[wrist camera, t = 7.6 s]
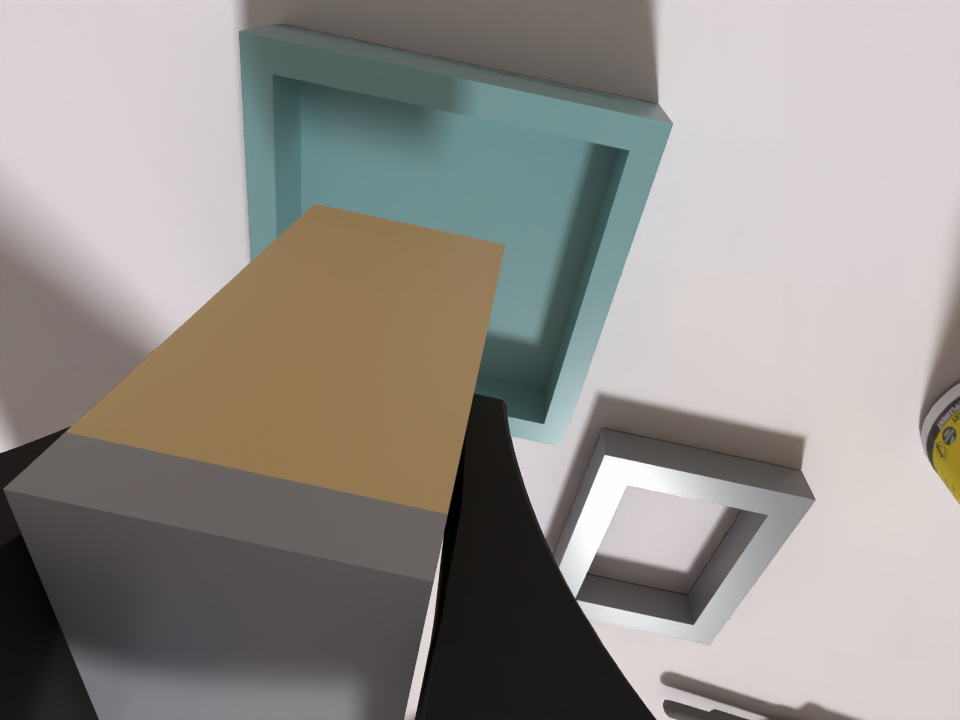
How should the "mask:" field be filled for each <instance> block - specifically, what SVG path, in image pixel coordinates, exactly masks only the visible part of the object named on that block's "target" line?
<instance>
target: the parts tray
mask: <svg viewBox="0 0 960 720" xmlns="http://www.w3.org/2000/svg"><path fill="white" fill-rule="evenodd" d="M239 41H240V60H241V79H242V98H243V118H244V137H245V156H246V175H247V194H248V213H249V233H250V252H251V262H252V261H253V260H254V259H255V258H256V257H257V256H258V255H259V254H260V253H261V252H263V251H264V250H265V249H266V248H267V247H268V246H269V245H270V244H271V243H272V242H273V241H275V240H276V239H277V238H278V237H279V236H280V235H281V234H282V233H283V232H284V231H285V230H287V229H288V228H289V227H290V226H291V225H292V224H293V223H294V222H295V221H296V220H297V219H299V218H300V217H301V216H302V215H303V214H304V213H305V212H306V211H307V210H308V209H309V208H311V207H312V206H313V205H314V204H318V205H323V206H328V207H332V208H337V209H342V210H346V211H351V212H356V213H360V214H365V215H370V216H374V217H379V218H384V219H388V220H393V221H398V222H402V223H407V224H412V225H416V226H421V227H426V228H431V229H435V230H440V231H445V232H449V233H454V234H459V235H463V236H468V237H473V238H477V239H482V240H487V241H491V242H496V243H501V244H505V250H504V255H503V260H502V264H501V269H500V274H499V278H498V283H497V288H496V292H495V297H494V302H493V306H492V311H491V316H490V320H489V325H488V330H487V334H486V339H485V344H484V348H483V353H482V358H481V362H480V367H479V372H478V376H477V381H476V386H475V390H474V394H479V395H483V396H488V397H493V398H497V399H502V400H503V401H504V402H505V404H506V405H507V415H508V423H509V429H510V434H511V436H513V437H518V438H522V439H527V440H532V441H536V442H541V443H546V444H550V445H555V446H560V447H562V444H563V442H564V439H565V436H566V433H567V430H568V427H569V424H570V421H571V418H572V415H573V413H574V410H575V407H576V404H577V401H578V398H579V395H580V392H581V389H582V386H583V384H584V381H585V378H586V375H587V372H588V369H589V366H590V363H591V360H592V357H593V355H594V352H595V349H596V346H597V343H598V340H599V337H600V334H601V331H602V328H603V326H604V323H605V320H606V317H607V314H608V311H609V308H610V305H611V302H612V299H613V297H614V294H615V291H616V288H617V285H618V282H619V279H620V276H621V273H622V270H623V268H624V265H625V262H626V259H627V256H628V253H629V250H630V247H631V244H632V241H633V239H634V236H635V233H636V230H637V227H638V224H639V221H640V218H641V215H642V212H643V210H644V207H645V204H646V201H647V198H648V195H649V192H650V189H651V186H652V183H653V181H654V178H655V175H656V172H657V169H658V166H659V163H660V160H661V157H662V154H663V152H664V149H665V146H666V143H667V140H668V137H669V134H670V131H671V128H672V125H673V123H672V121H671V120H670V119H669V117H668V116H667V115H666V113H665V112H664V111H663V109H662V108H661V107H660V105H659V104H654V103H650V102H645V101H640V100H636V99H631V98H626V97H622V96H617V95H612V94H607V93H603V92H598V91H593V90H589V89H584V88H579V87H575V86H570V85H565V84H561V83H556V82H551V81H546V80H542V79H537V78H532V77H528V76H523V75H518V74H514V73H509V72H504V71H500V70H495V69H490V68H485V67H481V66H476V65H471V64H467V63H462V62H457V61H453V60H448V59H443V58H439V57H434V56H429V55H424V54H420V53H415V52H410V51H406V50H401V49H396V48H392V47H387V46H382V45H378V44H373V43H368V42H363V41H359V40H354V39H349V38H345V37H340V36H335V35H331V34H326V33H321V32H317V31H312V30H307V29H302V28H298V27H293V26H288V25H284V24H278V25H272V26H266V27H260V28H254V29H248V30H242V31H239Z"/></svg>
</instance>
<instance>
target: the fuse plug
mask: <svg viewBox="0 0 960 720" xmlns="http://www.w3.org/2000/svg"><path fill="white" fill-rule="evenodd" d="M504 250H505V244H501V243H496V242H491V241H487V240H482V239H477V238H473V237H468V236H463V235H459V234H454V233H449V232H445V231H440V230H435V229H431V228H426V227H421V226H416V225H412V224H407V223H402V222H398V221H393V220H388V219H384V218H379V217H374V216H370V215H365V214H360V213H356V212H351V211H346V210H342V209H337V208H332V207H328V206H323V205H318V204H314V205H313V206H312V207H311V208H309V209H308V210H307V211H306V212H305V213H304V214H303V215H302V216H301V217H300V218H299V219H297V220H296V221H295V222H294V223H293V224H292V225H291V226H290V227H289V228H288V229H287V230H285V231H284V232H283V233H282V234H281V235H280V236H279V237H278V238H277V239H276V240H275V241H273V242H272V243H271V244H270V245H269V246H268V247H267V248H266V249H265V250H264V251H263V252H261V253H260V254H259V255H258V256H257V257H256V258H255V259H254V260H253V261H252V262H251V263H249V264H248V265H247V266H246V267H245V268H244V269H243V270H242V271H241V272H240V273H239V274H237V275H236V276H235V277H234V278H233V279H232V280H231V281H230V282H229V283H228V284H227V285H225V286H224V287H223V288H222V289H221V290H220V291H219V292H218V293H217V294H216V295H214V296H213V297H212V298H211V299H210V300H209V301H208V302H207V303H206V304H205V305H204V306H202V307H201V308H200V309H199V310H198V311H197V312H196V313H195V314H194V315H193V316H192V317H190V318H189V319H188V320H187V321H186V322H185V323H184V324H183V325H182V326H181V327H180V328H178V329H177V330H176V331H175V332H174V333H173V334H172V335H171V336H170V337H169V338H168V339H166V340H165V341H164V342H163V343H162V344H161V345H160V346H159V347H158V348H157V349H156V350H154V351H153V352H152V353H151V354H150V355H149V356H148V357H147V358H146V359H145V360H144V361H142V362H141V363H140V364H139V365H138V366H137V367H136V368H135V369H134V370H133V371H132V372H130V373H129V374H128V375H127V376H126V377H125V378H124V379H123V380H122V381H121V382H120V383H118V384H117V385H116V386H115V387H114V388H113V389H112V390H111V391H110V392H109V393H108V394H106V395H105V396H104V397H103V398H102V399H101V400H100V401H99V402H98V403H97V404H96V405H94V406H93V407H92V408H91V409H90V410H89V411H88V412H87V413H86V414H85V415H84V416H82V417H81V418H80V419H79V420H78V421H77V422H76V423H75V424H74V425H73V426H72V427H70V428H69V429H68V430H67V431H66V432H65V433H64V434H63V435H62V436H61V437H60V438H58V439H57V440H56V441H55V442H54V443H53V444H52V445H51V446H50V447H49V448H48V449H46V450H45V451H44V452H43V453H42V454H41V455H40V456H39V457H38V458H37V459H36V460H34V461H33V462H32V463H31V464H30V465H29V466H28V467H27V468H26V469H25V470H24V471H22V472H21V473H20V474H19V475H18V476H17V477H16V478H15V479H14V480H13V481H12V482H10V483H9V484H8V485H7V486H6V487H5V488H4V489H3V490H4V493H5V495H6V497H7V500H8V502H9V505H10V507H11V509H12V512H13V514H14V517H15V519H16V521H17V524H18V526H19V529H20V531H21V533H22V536H23V538H24V541H25V543H26V545H27V548H28V550H29V553H30V555H31V557H32V560H33V562H34V565H35V567H36V570H37V572H38V574H39V577H40V579H41V582H42V584H43V586H44V589H45V591H46V594H47V596H48V598H49V601H50V603H51V606H52V608H53V610H54V613H55V615H56V618H57V620H58V622H59V625H60V627H61V630H62V632H63V634H64V637H65V639H66V642H67V644H68V646H69V649H70V651H71V654H72V656H73V658H74V661H75V663H76V666H77V668H78V670H79V673H80V675H81V678H82V680H83V682H84V685H85V687H86V690H87V692H88V694H89V697H90V699H91V702H92V704H93V706H94V709H95V711H96V714H97V716H98V718H99V720H404V717H405V712H406V707H407V703H408V698H409V693H410V689H411V684H412V679H413V675H414V670H415V665H416V661H417V656H418V651H419V647H420V642H421V637H422V633H423V628H424V623H425V619H426V614H427V610H428V605H429V600H430V596H431V591H432V586H433V582H434V577H435V572H436V568H437V563H438V558H439V554H440V549H441V544H442V540H443V535H444V530H445V525H446V521H447V516H448V511H449V507H450V502H451V497H452V493H453V488H454V483H455V479H456V474H457V469H458V465H459V460H460V455H461V451H462V446H463V441H464V437H465V432H466V427H467V423H468V418H469V413H470V409H471V404H472V399H473V395H474V390H475V386H476V381H477V376H478V372H479V367H480V362H481V358H482V353H483V348H484V344H485V339H486V334H487V330H488V325H489V320H490V316H491V311H492V306H493V302H494V297H495V292H496V288H497V283H498V278H499V274H500V269H501V264H502V260H503V255H504Z"/></svg>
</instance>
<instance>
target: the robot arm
mask: <svg viewBox="0 0 960 720" xmlns="http://www.w3.org/2000/svg"><path fill="white" fill-rule="evenodd" d="M71 427H72V426H71ZM69 428H70V427H68V428H66V429H63V430H61V431H58V432H56V433H53V434H51V435H48V436H46V437H43V438H40V439H38V440H35V441H33V442H30V443H27V444H25V445H22V446H20V447H17V448H14V449H11V450H8V451H6V452H3V453H0V720H99V718H98V716H97V714H96V711H95V709H94V706H93V704H92V702H91V699H90V697H89V694H88V692H87V690H86V687H85V685H84V682H83V680H82V678H81V675H80V673H79V670H78V668H77V666H76V663H75V661H74V658H73V656H72V654H71V651H70V649H69V646H68V644H67V642H66V639H65V637H64V634H63V632H62V630H61V627H60V625H59V622H58V620H57V618H56V615H55V613H54V610H53V608H52V606H51V603H50V601H49V598H48V596H47V594H46V591H45V589H44V586H43V584H42V582H41V579H40V577H39V574H38V572H37V570H36V567H35V565H34V562H33V560H32V557H31V555H30V553H29V550H28V548H27V545H26V543H25V541H24V538H23V536H22V533H21V531H20V529H19V526H18V524H17V521H16V519H15V517H14V514H13V512H12V509H11V507H10V505H9V502H8V500H7V497H6V495H5V493H4V490H3V489H4V488H5V487H6V486H7V485H8V484H9V483H10V482H12V481H13V480H14V479H15V478H16V477H17V476H18V475H19V474H20V473H21V472H22V471H24V470H25V469H26V468H27V467H28V466H29V465H30V464H31V463H32V462H33V461H34V460H36V459H37V458H38V457H39V456H40V455H41V454H42V453H43V452H44V451H45V450H46V449H48V448H49V447H50V446H51V445H52V444H53V443H54V442H55V441H56V440H57V439H58V438H60V437H61V436H62V435H63V434H64V433H65V432H66V431H67V430H68V429H69ZM415 720H656V719H655V717H654V716H653V715H652V713H651V712H650V711H649V709H648V708H647V707H646V705H645V704H644V703H643V701H642V700H641V698H640V697H639V696H638V694H637V693H636V692H635V690H634V689H633V688H632V686H631V685H630V683H629V682H628V681H627V679H626V678H625V676H624V675H623V673H622V672H621V670H620V669H619V667H618V666H617V664H616V663H615V662H614V660H613V659H612V657H611V656H610V654H609V653H608V651H607V650H606V648H605V647H604V645H603V644H602V642H601V640H600V639H599V637H598V635H597V634H596V632H595V630H594V629H593V627H592V625H591V624H590V622H589V620H588V619H587V617H586V615H585V614H584V612H583V610H582V609H581V607H580V606H579V604H578V602H577V601H576V599H575V597H574V595H573V594H572V592H571V590H570V588H569V586H568V584H567V582H566V580H565V579H564V577H563V575H562V573H561V571H560V569H559V567H558V565H557V563H556V561H555V559H554V557H553V555H552V553H551V550H550V548H549V546H548V544H547V542H546V540H545V537H544V535H543V533H542V530H541V528H540V526H539V523H538V521H537V518H536V515H535V513H534V510H533V508H532V505H531V503H530V500H529V497H528V494H527V491H526V488H525V485H524V482H523V479H522V476H521V472H520V469H519V466H518V463H517V459H516V455H515V451H514V447H513V443H512V439H511V434H510V429H509V423H508V415H507V405H506V404H505V402H504V401H503V400H502V399H497V398H493V397H488V396H483V395H479V394H474V395H473V399H472V404H471V409H470V413H469V418H468V423H467V427H466V432H465V437H464V441H463V446H462V451H461V455H460V460H459V465H458V469H457V474H456V479H455V483H454V488H453V493H452V497H451V502H450V507H449V511H448V516H447V521H446V525H445V530H444V537H443V546H442V555H441V564H440V572H439V581H438V590H437V599H436V607H435V616H434V623H433V630H432V636H431V643H430V648H429V653H428V658H427V662H426V667H425V672H424V677H423V682H422V687H421V692H420V697H419V702H418V707H417V712H416V717H415Z"/></svg>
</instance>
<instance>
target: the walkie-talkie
mask: <svg viewBox="0 0 960 720" xmlns="http://www.w3.org/2000/svg"><path fill="white" fill-rule="evenodd" d="M663 708H664V711H665V713H666V714H667V715H668V716H669V717H670V718H674V719H677V720H748V719H745V718H742V717H738V716H735V715H732V714H729V713H726V712H722V711H719V710H716V709H714V710H711V711H710V712H708V711H704V710H701V709H698V708H694V707H691V706H688V705H684V704H681V703H678V702H674V701H670V700H664V703H663Z"/></svg>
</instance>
